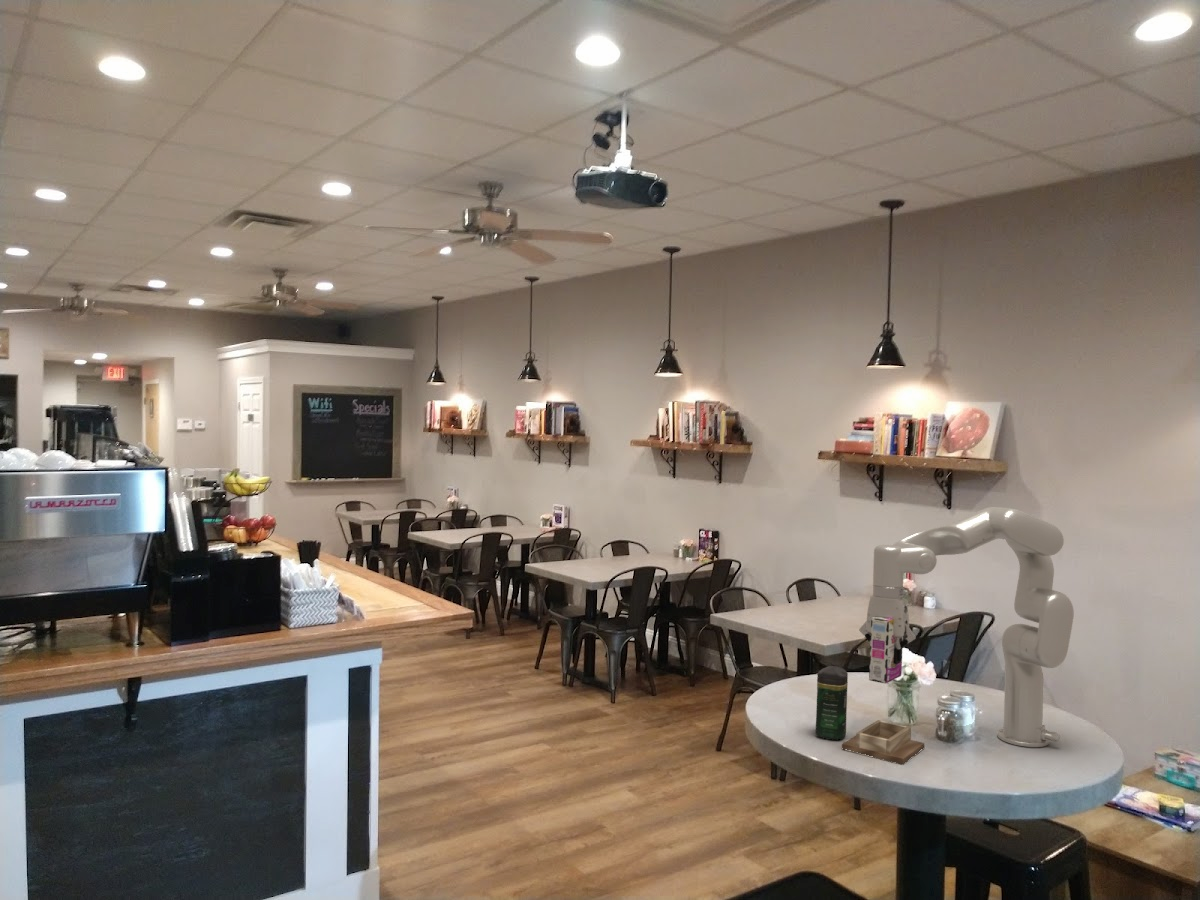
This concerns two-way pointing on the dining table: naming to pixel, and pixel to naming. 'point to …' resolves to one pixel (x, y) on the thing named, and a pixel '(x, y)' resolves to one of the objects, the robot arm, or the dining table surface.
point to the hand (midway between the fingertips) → (886, 660)
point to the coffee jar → (831, 702)
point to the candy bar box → (883, 651)
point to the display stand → (885, 742)
